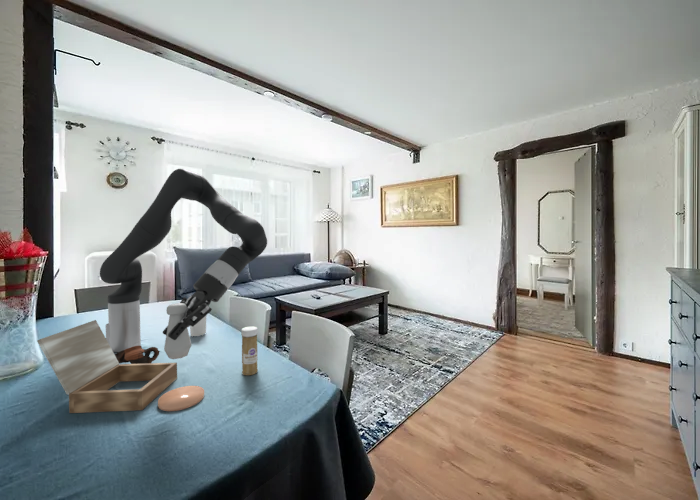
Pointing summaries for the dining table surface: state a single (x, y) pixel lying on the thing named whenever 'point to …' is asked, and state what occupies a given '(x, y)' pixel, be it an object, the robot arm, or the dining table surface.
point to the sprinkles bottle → (249, 350)
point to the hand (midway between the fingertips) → (168, 336)
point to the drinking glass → (199, 328)
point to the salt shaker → (183, 342)
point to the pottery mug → (137, 355)
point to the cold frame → (101, 372)
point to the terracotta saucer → (181, 398)
